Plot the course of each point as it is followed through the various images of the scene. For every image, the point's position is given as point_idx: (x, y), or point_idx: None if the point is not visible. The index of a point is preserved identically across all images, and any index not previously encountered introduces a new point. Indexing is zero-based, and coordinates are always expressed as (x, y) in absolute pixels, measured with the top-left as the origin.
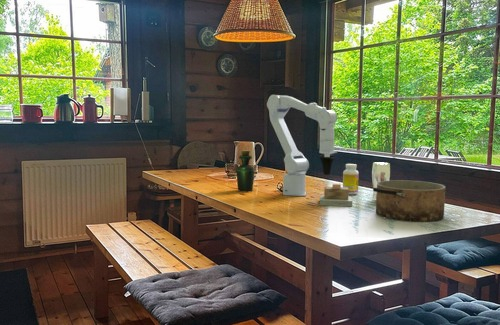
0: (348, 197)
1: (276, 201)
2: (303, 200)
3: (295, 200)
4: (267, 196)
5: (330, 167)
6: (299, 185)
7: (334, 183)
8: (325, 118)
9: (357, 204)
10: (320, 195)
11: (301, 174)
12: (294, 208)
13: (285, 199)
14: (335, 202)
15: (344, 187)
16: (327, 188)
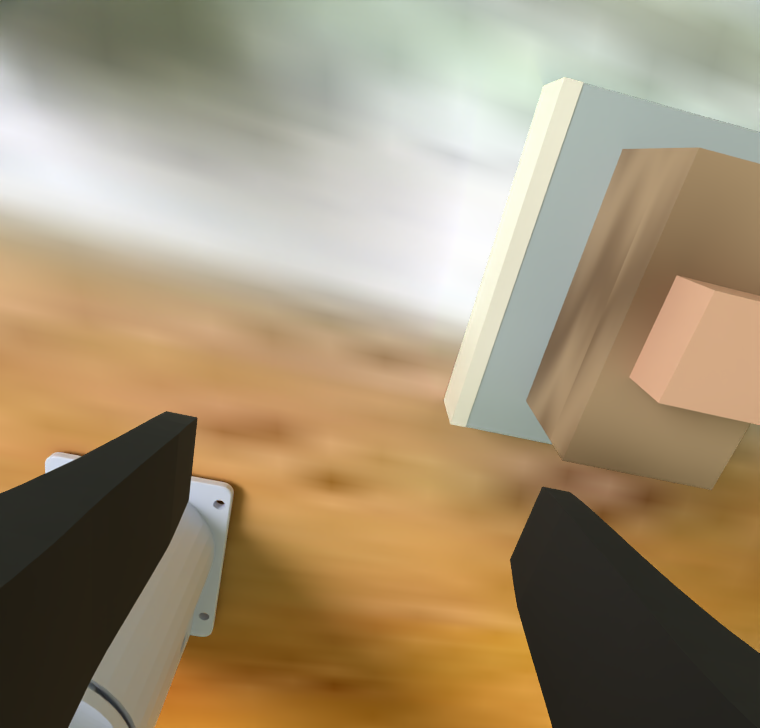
0: (624, 135)
1: (455, 684)
2: (430, 525)
3: (426, 577)
4: (258, 712)
5: (686, 604)
6: (182, 602)
7: (692, 382)
8: None
9: (724, 53)
10: (456, 422)
11: (116, 711)
12: (723, 621)
13: (380, 630)
14: None
15: (690, 207)
16: (707, 457)
